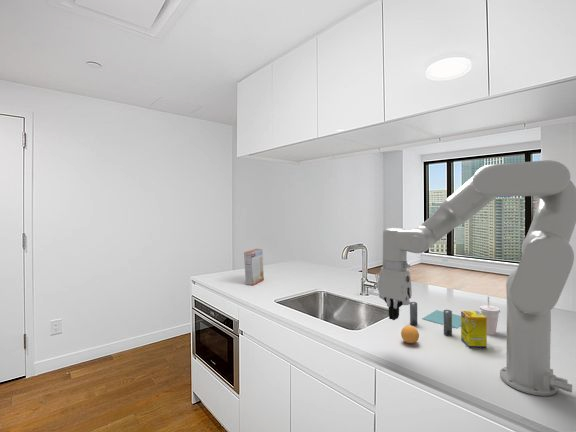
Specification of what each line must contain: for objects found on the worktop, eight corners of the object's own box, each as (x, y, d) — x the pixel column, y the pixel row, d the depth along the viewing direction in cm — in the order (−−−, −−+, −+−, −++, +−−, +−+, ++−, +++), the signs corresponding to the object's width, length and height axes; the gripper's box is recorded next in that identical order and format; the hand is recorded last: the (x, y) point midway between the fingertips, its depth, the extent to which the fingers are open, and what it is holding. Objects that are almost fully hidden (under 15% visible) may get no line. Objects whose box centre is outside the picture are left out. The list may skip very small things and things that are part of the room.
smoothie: (475, 330, 120) (475, 294, 120) (491, 329, 121) (491, 293, 120) (487, 337, 114) (487, 299, 113) (504, 336, 114) (504, 298, 114)
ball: (422, 342, 111) (422, 326, 111) (414, 348, 107) (413, 331, 107) (406, 337, 116) (406, 321, 115) (397, 342, 112) (397, 326, 112)
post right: (453, 334, 117) (453, 310, 117) (450, 336, 115) (450, 312, 115) (445, 332, 119) (445, 309, 119) (442, 334, 117) (442, 311, 117)
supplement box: (460, 340, 112) (460, 310, 111) (478, 340, 111) (478, 310, 111) (468, 348, 106) (468, 316, 106) (487, 348, 106) (487, 317, 105)
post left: (418, 324, 127) (418, 302, 127) (415, 326, 125) (415, 304, 125) (412, 322, 129) (411, 301, 129) (408, 324, 127) (408, 302, 127)
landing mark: (470, 318, 131) (470, 318, 131) (457, 328, 122) (457, 327, 122) (436, 310, 142) (436, 310, 142) (422, 318, 133) (422, 318, 133)
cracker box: (256, 279, 208) (255, 248, 207) (264, 280, 206) (263, 248, 205) (244, 284, 196) (243, 251, 195) (253, 285, 193) (251, 252, 192)
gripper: (421, 266, 101) (420, 322, 102) (380, 259, 112) (380, 309, 113) (410, 270, 96) (409, 328, 97) (368, 263, 107) (368, 315, 108)
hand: (393, 318), depth 105 cm, fingers closed
